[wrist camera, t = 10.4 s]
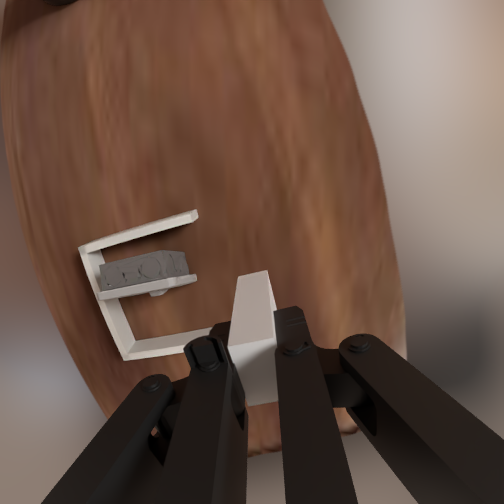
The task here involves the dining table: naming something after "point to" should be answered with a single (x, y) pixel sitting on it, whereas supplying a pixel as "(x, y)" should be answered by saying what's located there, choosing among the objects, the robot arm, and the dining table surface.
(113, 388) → the dining table surface
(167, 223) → the u-shaped bracket
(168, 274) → the electrical switch
